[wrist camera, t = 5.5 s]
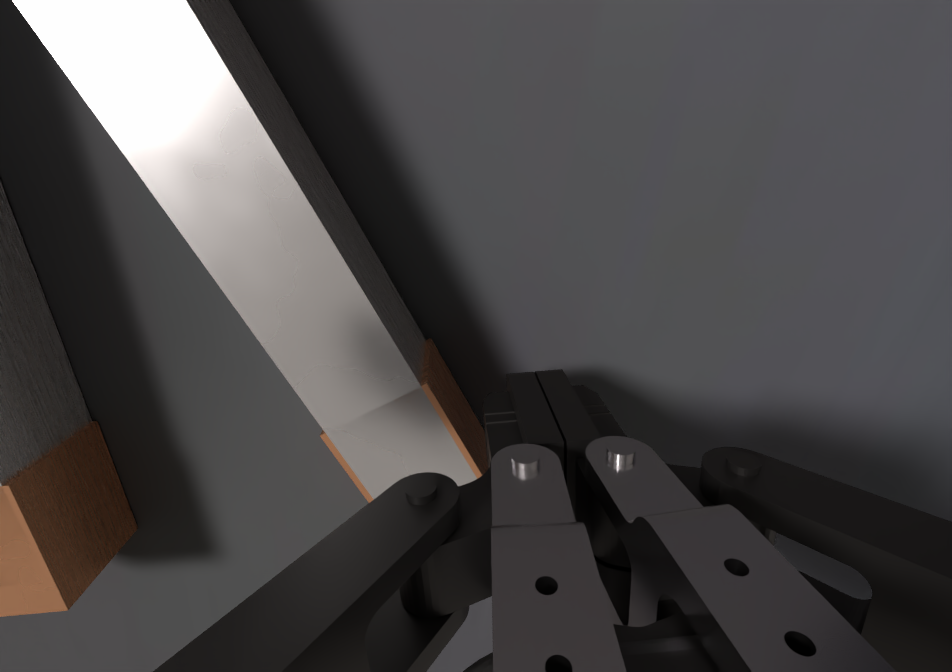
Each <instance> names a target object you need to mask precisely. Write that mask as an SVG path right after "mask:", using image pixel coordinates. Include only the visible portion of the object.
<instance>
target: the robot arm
mask: <svg viewBox="0 0 952 672" xmlns="http://www.w3.org/2000/svg"><path fill="white" fill-rule="evenodd" d="M506 388H507V392H497V393H489V394H488V396H487V397H486V399H485V401H484V402H483V412H484V427H485V443H486V455H487V462H488V470H487V471H486V473H484V474H483V475H482V476H481V477H479V478H478V479H476V480H474V481H472V482H470V483H467V484H464V485H461V486H457V484H456V482H455V481H454V480H453V479H451V478H450V477H448V476H446V475H443V474H440V473H434V472H423V473H416V474H413V475H409V476H407V477H404V478H402V479H400V480H399V481H397V482H396V483H394V484H393V485H392V486H391V487H389V488H388V489H387V490H385V491H384V492H383V493H382V494H380V495H379V496H378V497H376V498H375V499H374V500H373V501H371V502H370V503H369V504H367V505H366V506H365V507H364V508H362V509H361V510H360V511H358V512H357V513H356V514H355V515H353V516H352V517H351V518H349V519H348V520H347V521H346V522H344V523H343V524H342V525H340V526H339V527H338V528H337V529H335V530H334V531H333V532H331V533H330V534H329V535H328V536H326V537H325V538H324V539H323V540H321V541H320V542H319V543H317V544H316V545H315V546H314V547H312V548H311V549H310V550H308V551H307V552H306V553H305V554H303V555H302V556H301V557H299V558H298V559H297V560H296V561H294V562H293V563H292V564H290V565H289V566H288V567H287V568H285V569H284V570H283V571H281V572H280V573H279V574H278V575H276V576H275V577H274V578H272V579H271V580H270V581H269V582H267V583H266V584H265V585H264V586H262V587H261V588H260V589H258V590H257V591H256V592H255V593H253V594H252V595H251V596H249V597H248V598H247V599H246V600H244V601H243V602H242V603H240V604H239V605H238V606H237V607H235V608H234V609H233V610H231V611H230V612H229V613H228V614H226V615H225V616H224V617H222V618H221V619H220V620H219V621H217V622H216V623H215V624H213V625H212V626H211V627H210V628H208V629H207V630H206V631H204V632H203V633H202V634H201V635H199V636H198V637H197V638H196V639H194V640H193V641H192V642H190V643H189V644H188V645H187V646H185V647H184V648H183V649H181V650H180V651H179V652H178V653H176V654H175V655H174V656H172V657H171V658H170V659H169V660H167V661H166V662H165V663H163V664H162V665H161V666H160V667H158V668H157V669H156V670H154V671H153V672H426V671H427V670H428V669H429V667H430V666H431V665H432V663H433V662H434V661H435V659H436V658H437V657H438V655H439V654H440V653H441V651H442V650H443V649H444V647H445V646H446V645H447V644H448V642H449V641H450V640H451V638H452V637H453V636H454V634H455V633H456V632H457V630H458V629H459V628H460V626H461V625H462V624H463V622H464V621H465V619H466V617H467V615H468V611H469V605H471V604H474V603H476V602H479V601H481V600H483V599H486V598H488V597H490V596H492V629H493V652H492V653H490V654H489V655H487V656H485V657H483V658H481V659H479V660H478V661H477V662H475V663H474V664H472V665H471V666H470V667H468V668H467V669H466V670H464V671H463V672H952V522H950V521H947V520H944V519H941V518H939V517H936V516H933V515H930V514H927V513H925V512H922V511H919V510H916V509H913V508H911V507H908V506H905V505H902V504H900V503H897V502H894V501H891V500H888V499H886V498H883V497H880V496H877V495H874V494H872V493H869V492H866V491H863V490H860V489H858V488H855V487H852V486H849V485H846V484H844V483H841V482H838V481H835V480H832V479H830V478H827V477H824V476H821V475H819V474H816V473H813V472H810V471H807V470H805V469H802V468H799V467H796V466H793V465H791V464H788V463H785V462H782V461H779V460H777V459H774V458H771V457H768V456H765V455H763V454H760V453H757V452H754V451H751V450H747V449H742V448H735V447H721V448H715V449H712V450H710V451H708V452H707V453H705V454H704V456H703V458H702V465H701V468H695V467H686V466H677V465H670V464H665V463H664V462H663V461H662V459H661V458H660V457H659V456H658V455H657V454H656V453H655V452H654V450H653V449H652V448H651V447H649V446H648V445H646V444H645V443H643V442H641V441H638V440H636V439H632V438H628V437H626V435H625V434H624V433H623V431H622V430H621V428H620V427H619V425H618V424H617V422H616V421H615V419H614V418H613V416H612V415H611V414H610V413H609V410H608V409H607V407H606V406H604V403H603V402H602V400H601V399H600V397H599V396H598V394H597V393H596V392H594V391H592V390H590V389H589V388H587V387H585V386H584V385H581V386H572V385H571V384H570V382H569V380H568V378H567V377H566V375H565V373H564V372H563V370H562V369H561V370H548V371H536V372H525V373H512V374H507V375H506ZM776 532H777V533H779V534H781V535H783V536H786V537H788V538H790V539H792V540H794V541H797V542H799V543H801V544H803V545H805V546H807V547H810V548H812V549H814V550H816V551H818V552H821V553H823V554H825V555H827V556H829V557H831V558H834V559H836V560H838V561H840V562H842V563H844V564H847V565H849V566H851V567H852V568H854V569H855V570H857V571H858V572H859V573H861V574H862V575H863V576H864V577H865V578H866V580H867V581H868V582H869V584H870V586H871V589H872V599H868V600H861V599H856V598H853V597H851V596H848V595H846V594H844V593H842V592H840V591H838V590H836V589H834V588H832V587H830V586H828V585H826V584H824V583H822V582H820V581H818V580H816V579H814V578H812V577H810V576H808V575H806V574H804V573H802V572H800V571H798V570H796V569H795V568H794V566H793V565H792V564H791V563H790V562H789V561H788V560H787V559H786V558H785V557H784V556H783V555H782V554H781V553H780V552H779V551H778V550H777V549H776V548H775V547H774V543H775V537H776Z"/></svg>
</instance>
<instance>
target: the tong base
mask: <svg viewBox="0 0 952 672" xmlns="http://www.w3.org/2000/svg"><path fill="white" fill-rule="evenodd" d="M137 529H138V527H137V525H136V522H135V519H134V517H133V514H132V511H131V509H130V506H129V503H128V501H127V498H126V495H125V493H124V490H123V487H122V485H121V482H120V479H119V477H118V474H117V472H116V469H115V466H114V464H113V461H112V458H111V456H110V453H109V450H108V448H107V445H106V442H105V440H104V437H103V434H102V432H101V429H100V426H99V424H98V421H92V419H91V417H90V414H89V412H88V409H87V406H86V404H85V401H84V398H83V396H82V393H81V391H80V388H79V385H78V383H77V380H76V377H75V375H74V372H73V370H72V367H71V364H70V362H69V359H68V356H67V354H66V351H65V349H64V346H63V343H62V341H61V338H60V335H59V333H58V330H57V328H56V325H55V322H54V320H53V317H52V314H51V312H50V309H49V307H48V304H47V301H46V299H45V296H44V293H43V291H42V288H41V286H40V283H39V280H38V278H37V275H36V272H35V270H34V267H33V265H32V262H31V259H30V257H29V254H28V251H27V249H26V246H25V244H24V241H23V238H22V236H21V233H20V230H19V228H18V225H17V223H16V220H15V217H14V215H13V212H12V209H11V207H10V204H9V202H8V199H7V196H6V194H5V191H4V188H3V186H2V183H1V181H0V617H2V616H13V615H24V614H34V613H45V612H56V611H67V610H69V609H70V607H71V606H72V605H73V604H74V603H75V602H76V600H77V599H78V598H79V597H80V596H81V595H82V593H83V592H84V591H85V590H86V589H87V588H88V586H89V585H90V584H91V583H92V582H93V581H94V579H95V578H96V577H97V576H98V575H99V574H100V572H101V571H102V570H103V569H104V568H105V566H106V565H107V564H108V563H109V562H110V561H111V559H112V558H113V557H114V556H115V555H116V554H117V552H118V551H119V550H120V549H121V548H122V547H123V545H124V544H125V543H126V542H127V541H128V540H129V538H130V537H131V536H132V535H133V534H134V533H135V531H136V530H137Z"/></svg>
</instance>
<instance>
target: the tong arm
mask: <svg viewBox="0 0 952 672" xmlns="http://www.w3.org/2000/svg"><path fill="white" fill-rule="evenodd" d="M12 1H13V2H14V3H15V5H16V6H17V8H18V9H19V10H20V12H21V13H22V14H23V16H24V17H25V19H26V20H27V21H28V23H29V24H30V26H31V27H32V28H33V30H34V31H35V32H36V34H37V35H38V37H39V38H40V39H41V41H42V42H43V44H44V45H45V46H46V48H47V49H48V50H49V52H50V53H51V55H52V56H53V57H54V59H55V60H56V61H57V63H58V64H59V66H60V67H61V68H62V70H63V71H64V73H65V74H66V75H67V77H68V78H69V79H70V81H71V82H72V84H73V85H74V86H75V88H76V89H77V90H78V92H79V93H80V95H81V96H82V97H83V99H84V100H85V102H86V103H87V104H88V106H89V107H90V108H91V110H92V111H93V113H94V114H95V115H96V117H97V118H98V119H99V121H100V122H101V124H102V125H103V126H104V128H105V129H106V131H107V132H108V133H109V135H110V136H111V137H112V139H113V140H114V142H115V143H116V144H117V146H118V147H119V148H120V150H121V151H122V153H123V154H124V155H125V157H126V158H127V160H128V161H129V162H130V164H131V165H132V166H133V168H134V169H135V171H136V172H137V173H138V175H139V176H140V178H141V179H142V180H143V182H144V183H145V184H146V186H147V187H148V189H149V190H150V191H151V193H152V194H153V195H154V197H155V198H156V200H157V201H158V202H159V204H160V205H161V207H162V208H163V209H164V211H165V212H166V213H167V215H168V216H169V218H170V219H171V220H172V222H173V223H174V224H175V226H176V227H177V229H178V230H179V231H180V233H181V234H182V236H183V237H184V238H185V240H186V241H187V242H188V244H189V245H190V247H191V248H192V249H193V251H194V252H195V253H196V255H197V256H198V258H199V259H200V260H201V262H202V263H203V265H204V266H205V267H206V269H207V270H208V271H209V273H210V274H211V276H212V277H213V278H214V280H215V281H216V282H217V284H218V285H219V287H220V288H221V289H222V291H223V292H224V294H225V295H226V296H227V298H228V299H229V300H230V302H231V303H232V305H233V306H234V307H235V309H236V310H237V312H238V313H239V314H240V316H241V317H242V318H243V320H244V321H245V323H246V324H247V325H248V327H249V328H250V329H251V331H252V332H253V334H254V335H255V336H256V338H257V339H258V341H259V342H260V343H261V345H262V346H263V347H264V349H265V350H266V352H267V353H268V354H269V356H270V357H271V358H272V360H273V361H274V363H275V364H276V365H277V367H278V368H279V370H280V371H281V372H282V374H283V375H284V376H285V378H286V379H287V381H288V382H289V383H290V385H291V386H292V387H293V389H294V390H295V392H296V393H297V394H298V396H299V397H300V399H301V400H302V401H303V403H304V404H305V405H306V407H307V408H308V410H309V411H310V412H311V414H312V415H313V416H314V418H315V419H316V421H317V422H318V423H319V425H320V426H321V428H322V429H323V430H322V432H321V435H320V437H321V438H322V439H323V441H324V442H325V443H326V445H327V446H328V448H329V449H330V450H331V452H332V453H333V454H334V456H335V457H336V458H337V460H338V461H339V463H340V464H341V465H342V467H343V468H344V469H345V471H346V472H347V474H348V475H349V476H350V478H351V479H352V480H353V482H354V483H355V484H356V486H357V487H358V489H359V490H360V491H361V493H362V494H363V495H364V497H365V498H366V500H367V501H368V502H369V503H370V502H371V501H373V500H374V499H375V498H376V497H378V496H379V495H380V494H382V493H383V492H384V491H385V490H387V489H388V488H389V487H391V486H392V485H393V484H394V483H396V482H397V481H399V480H400V479H402V478H404V477H407V476H409V475H413V474H416V473H423V472H434V473H440V474H443V475H446V476H448V477H450V478H451V479H453V480H454V481H455V482H456V484H457V486H461V485H464V484H467V483H470V482H472V481H474V480H476V479H478V478H479V477H481V476H482V475H483V474H484V473H486V471H487V470H488V462H487V455H486V443H485V431H484V430H483V428H482V426H481V424H480V423H479V421H478V419H477V417H476V416H475V414H474V412H473V410H472V409H471V407H470V405H469V404H468V402H467V400H466V398H465V397H464V395H463V393H462V391H461V390H460V388H459V386H458V384H457V383H456V381H455V379H454V377H453V376H452V374H451V372H450V371H449V369H448V367H447V365H446V364H445V362H444V360H443V358H442V357H441V355H440V353H439V351H438V350H437V348H436V346H435V345H434V343H433V341H432V339H431V338H430V339H428V340H426V339H425V338H424V336H423V334H422V332H421V331H420V329H419V327H418V325H417V324H416V322H415V320H414V319H413V317H412V315H411V313H410V312H409V310H408V308H407V307H406V305H405V303H404V301H403V300H402V298H401V296H400V294H399V293H398V291H397V289H396V288H395V286H394V284H393V282H392V281H391V279H390V277H389V276H388V274H387V272H386V270H385V269H384V267H383V265H382V264H381V262H380V260H379V258H378V257H377V255H376V253H375V251H374V250H373V248H372V246H371V245H370V243H369V241H368V239H367V238H366V236H365V234H364V233H363V231H362V229H361V227H360V226H359V224H358V222H357V220H356V219H355V217H354V215H353V214H352V212H351V210H350V208H349V207H348V205H347V203H346V202H345V200H344V198H343V196H342V195H341V193H340V191H339V190H338V188H337V186H336V184H335V183H334V181H333V179H332V177H331V176H330V174H329V172H328V171H327V169H326V167H325V165H324V164H323V162H322V160H321V159H320V157H319V155H318V153H317V152H316V150H315V148H314V146H313V145H312V143H311V141H310V140H309V138H308V136H307V134H306V133H305V131H304V129H303V128H302V126H301V124H300V122H299V121H298V119H297V117H296V116H295V114H294V112H293V110H292V109H291V107H290V105H289V103H288V102H287V100H286V98H285V97H284V95H283V93H282V91H281V90H280V88H279V86H278V85H277V83H276V81H275V79H274V78H273V76H272V74H271V72H270V71H269V69H268V67H267V66H266V64H265V62H264V60H263V59H262V57H261V55H260V54H259V52H258V50H257V48H256V47H255V45H254V43H253V42H252V40H251V38H250V36H249V35H248V33H247V31H246V29H245V28H244V26H243V24H242V23H241V21H240V19H239V17H238V16H237V14H236V12H235V11H234V9H233V7H232V5H231V4H230V2H229V0H12Z"/></svg>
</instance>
